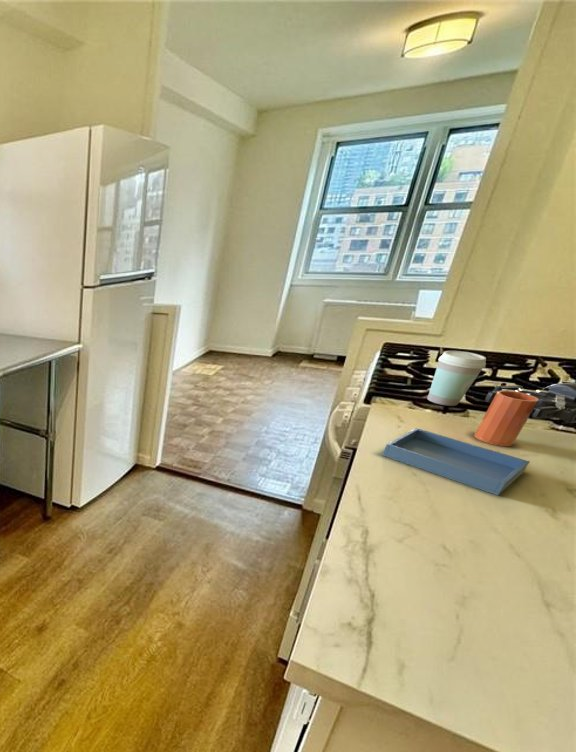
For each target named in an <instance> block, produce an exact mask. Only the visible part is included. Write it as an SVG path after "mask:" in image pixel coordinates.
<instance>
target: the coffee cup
mask: <svg viewBox="0 0 576 752" xmlns="http://www.w3.org/2000/svg"><path fill="white" fill-rule="evenodd" d="M437 360H438V363H437V366H436V369H435V371H434V376H433V379H432V382H431V385H430V389H429V392H428V394H427V398H426V399H427V400H428V401H429V402H431V403H433V404H437V405H441V406H447V407H454V406H458V405H459V403H460V402H461V400H463V398H464V396H465V395H466V393H467V392H468V390H469V389H470V387H471V386H472V385H473V383H474V382H475V381H476V379H477V377H478V376H479V374H480V373H481V371H482V370H483V369H486V365H487V363H486V361H487V357H486V356H484V355H482V354H478V353H474V352H469V351H461V350H445V351H444V352H443V353H442V355H440V356H439V358H438V359H437Z"/></svg>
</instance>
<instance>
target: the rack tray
mask: <svg viewBox="0 0 576 752" xmlns="http://www.w3.org/2000/svg"><path fill="white" fill-rule="evenodd" d="M381 456H383V457H386V458H389V459H392V460H395V461H397V462H400V463H403V464H406V465H409V466H411V467H414V468H418V469H421V470H423V471H426V472H429V473H432V474H435V475H438V476H440V477H443V478H446V479H450V480H452V481H455V482H458V483H461V484H463V485H467V486H470V487H472V488H474V489H475V488H476V489H478V490H481V491H484V492H487V493H490V494H492V495H495V496H499V495H501V493H503V491H505V490H506V489H507V488H508V487H509V486H510V485H512V483H514V481H516V480H517V479H518V478H519V477H520V476H522V474H523V473H524V472H525V470H526V469H527V467H528V466H529V464H530V461H529V460H525V459H522V458H519V457H515V456H513V455H510V454H506V453H502V452H499V451H496V450H492V449H488V448H485V447H482V446H479V445H475V444H473V443H469V442H466V441H462V440H460V439H459V440H458V439H455V438H451V437H449V436H445V435H443V434H442V435H441V434H438V433H435V432H431V431H428V430H425V429H422V428H418V427H415V428H414V429H412V430H410V431H408V432H406V433H404V434H403V435H401V436H399V437H397V438H395V439H394V440H392V441H390V442H388V443H387V444H386V445H385V447H384V449H383V452H382V454H381Z"/></svg>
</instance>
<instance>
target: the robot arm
mask: <svg viewBox="0 0 576 752" xmlns="http://www.w3.org/2000/svg"><path fill="white" fill-rule="evenodd" d="M498 391H514V392H520V393H524V394H528V395H531V396H534V397H536V398H538V399H539V401H538V403H537V405H536V406H535V408H534V410H533V411H534V412H532V414H531V418H532V419H535V420H540V419H541V420H542V419H551V420H556V421H559V420H562V421H563V422H564V423H565V424H576V382H563V383H561V382H559V383H554V384H550V385H548V386H546V387H544V388H543V389H536V390H534V389H525V388H524V387H523V385H519V384H517V385H516V384H515V385H495V386H494V389H493V390H492V391H488V393H487V395H486V396H485V400H484V401H485V402H487V403H490V404H491V403H492V401H493V399H494V397H495V395H496V393H497V392H498Z"/></svg>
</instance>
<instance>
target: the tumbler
mask: <svg viewBox="0 0 576 752" xmlns="http://www.w3.org/2000/svg"><path fill="white" fill-rule="evenodd" d="M538 401H539V399H538V398H536V397H534V396H531V395H528V394H524V393H520V392H514V391H498V392H497V393H496V395H495V397H494V399H493V401H492V403H490V405H489V406H488V408H487V410H486V411H485V413H484V416H483V418H482V420H481V421H480V423H479V425H478V426H477V429H476V431H475V432H474V435H473V436H474V438H475V439H477V440H479V441H481V442H484V443H486V444H489V445H494V446H500V447H510V446H513V445H514V443H515V442H516V440H517V439H518V437H519V435H520V434H521V432H522V431H523V428H524V427H525V425H526V423H527V422H528V420H529V418H530V417H531V416H532V414H533V411H535V410H534V408H535V406H536V405H537V403H538Z"/></svg>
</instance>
